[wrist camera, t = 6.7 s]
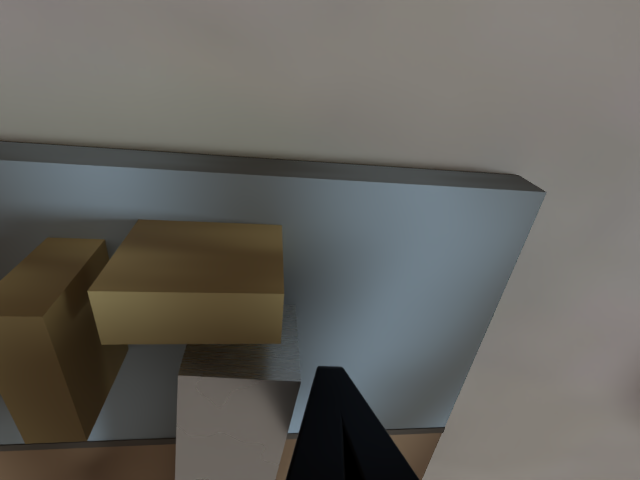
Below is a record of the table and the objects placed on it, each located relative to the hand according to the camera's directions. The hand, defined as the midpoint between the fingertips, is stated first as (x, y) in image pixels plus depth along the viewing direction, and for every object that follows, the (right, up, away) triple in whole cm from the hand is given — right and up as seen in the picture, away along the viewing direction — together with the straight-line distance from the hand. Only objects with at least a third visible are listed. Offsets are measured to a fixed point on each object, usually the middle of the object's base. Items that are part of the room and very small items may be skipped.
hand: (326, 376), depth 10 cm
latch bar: (-3, -2, +2) cm, 4 cm away
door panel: (-3, 0, +3) cm, 4 cm away
